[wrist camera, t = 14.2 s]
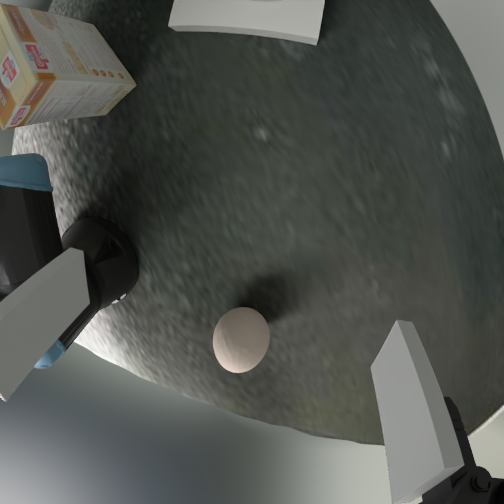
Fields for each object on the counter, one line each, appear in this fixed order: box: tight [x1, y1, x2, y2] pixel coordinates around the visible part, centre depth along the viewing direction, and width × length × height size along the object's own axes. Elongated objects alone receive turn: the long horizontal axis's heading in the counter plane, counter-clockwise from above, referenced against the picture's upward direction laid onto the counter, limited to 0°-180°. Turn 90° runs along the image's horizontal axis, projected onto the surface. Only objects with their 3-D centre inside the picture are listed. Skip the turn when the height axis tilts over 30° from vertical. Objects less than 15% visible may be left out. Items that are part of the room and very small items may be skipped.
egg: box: [213, 307, 270, 373], centre depth 42 cm, size 8×8×11 cm
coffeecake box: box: [0, 3, 136, 130], centre depth 24 cm, size 15×7×20 cm, turn 34°
